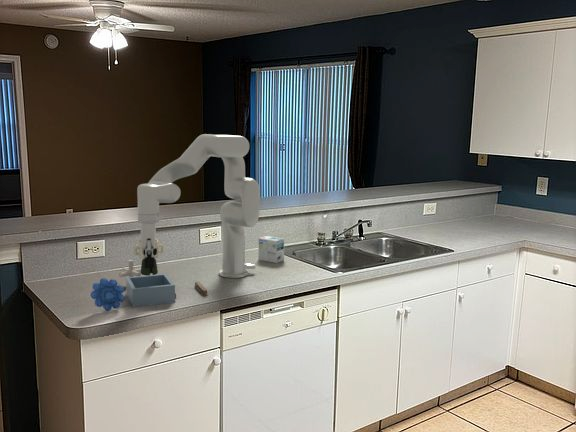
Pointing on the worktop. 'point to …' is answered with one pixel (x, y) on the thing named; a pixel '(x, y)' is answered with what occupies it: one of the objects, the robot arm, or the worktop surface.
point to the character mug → (142, 255)
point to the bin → (150, 290)
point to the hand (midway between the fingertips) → (149, 264)
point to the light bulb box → (271, 249)
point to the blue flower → (107, 294)
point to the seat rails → (199, 288)
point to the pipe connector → (130, 271)
